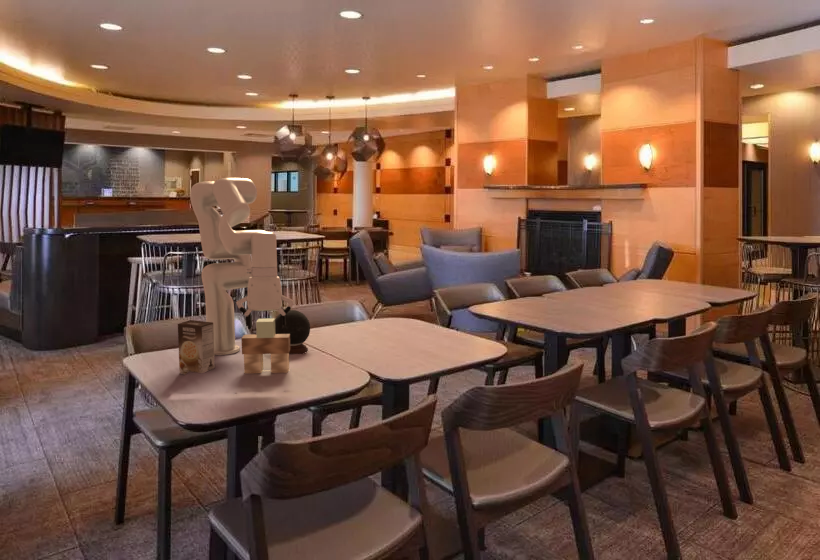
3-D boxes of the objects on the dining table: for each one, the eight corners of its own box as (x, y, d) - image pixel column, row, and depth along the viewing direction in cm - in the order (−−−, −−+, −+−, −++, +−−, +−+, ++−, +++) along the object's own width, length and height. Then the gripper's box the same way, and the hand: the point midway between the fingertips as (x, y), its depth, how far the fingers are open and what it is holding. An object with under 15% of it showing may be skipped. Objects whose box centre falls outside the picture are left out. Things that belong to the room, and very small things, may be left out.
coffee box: (178, 374, 188) (175, 323, 186) (192, 368, 194) (189, 319, 192) (203, 377, 185) (200, 325, 183) (216, 371, 191) (214, 321, 189)
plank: (241, 354, 184) (241, 338, 184) (244, 350, 189) (244, 334, 189) (288, 353, 186) (288, 337, 185) (290, 349, 190) (290, 333, 190)
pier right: (271, 372, 186) (270, 353, 185) (273, 368, 191) (272, 349, 190) (287, 372, 186) (287, 353, 185) (289, 368, 191) (288, 349, 190)
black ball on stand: (273, 357, 209) (272, 314, 207) (272, 348, 222) (271, 307, 220) (312, 354, 213) (311, 312, 211) (309, 346, 225) (308, 306, 223)
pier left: (244, 373, 185) (243, 354, 184) (247, 369, 190) (246, 350, 189) (261, 373, 185) (260, 354, 185) (263, 368, 190) (262, 350, 190)
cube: (256, 338, 184) (256, 321, 183) (259, 334, 189) (258, 318, 188) (273, 337, 184) (272, 321, 184) (275, 334, 189) (275, 318, 189)
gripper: (233, 274, 179) (234, 331, 182) (292, 273, 181) (293, 330, 183) (237, 271, 187) (239, 326, 189) (294, 271, 189) (295, 325, 191)
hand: (266, 328), depth 186 cm, fingers open, 9 cm apart
